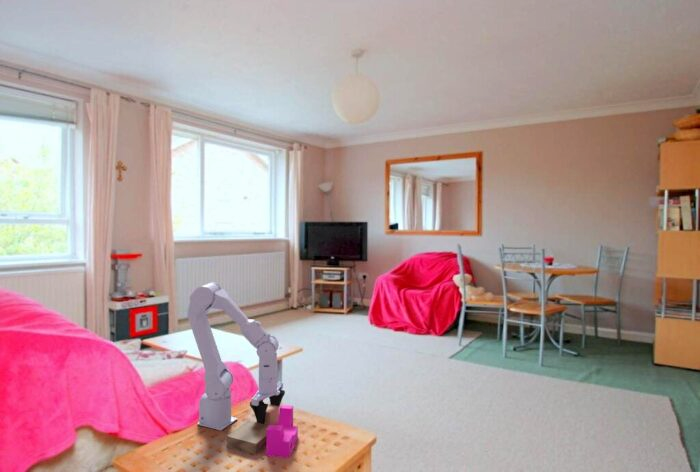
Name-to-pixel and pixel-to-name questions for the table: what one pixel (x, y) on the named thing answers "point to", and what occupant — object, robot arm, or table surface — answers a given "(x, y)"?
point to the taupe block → (248, 437)
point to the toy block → (282, 434)
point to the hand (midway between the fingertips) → (267, 418)
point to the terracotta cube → (272, 415)
